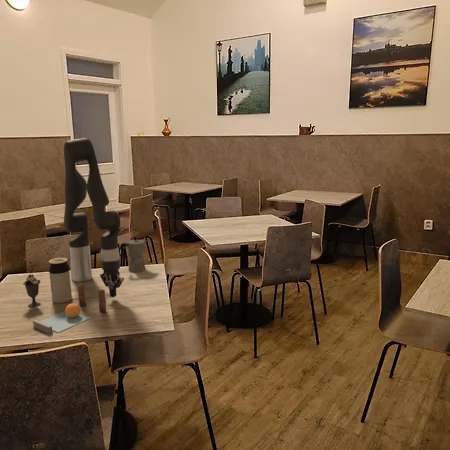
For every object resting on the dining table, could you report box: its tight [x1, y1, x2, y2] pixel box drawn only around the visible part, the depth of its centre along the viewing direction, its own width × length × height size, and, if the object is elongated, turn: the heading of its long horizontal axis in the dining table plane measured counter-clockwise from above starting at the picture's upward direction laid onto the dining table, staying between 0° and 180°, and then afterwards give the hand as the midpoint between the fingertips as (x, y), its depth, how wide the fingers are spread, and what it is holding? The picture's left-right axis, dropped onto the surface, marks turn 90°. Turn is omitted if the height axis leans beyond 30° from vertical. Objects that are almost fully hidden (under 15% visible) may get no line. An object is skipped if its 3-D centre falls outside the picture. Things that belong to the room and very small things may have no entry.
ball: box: [65, 302, 81, 318], centre depth 164 cm, size 6×6×6 cm
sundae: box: [22, 269, 42, 308], centre depth 176 cm, size 7×7×15 cm
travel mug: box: [48, 257, 73, 304], centre depth 181 cm, size 8×8×18 cm
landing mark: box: [39, 311, 91, 334], centre depth 161 cm, size 14×14×1 cm
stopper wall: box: [32, 319, 53, 335], centre depth 154 cm, size 10×1×2 cm, turn 56°
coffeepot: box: [119, 236, 148, 273], centre depth 219 cm, size 15×9×18 cm, turn 129°
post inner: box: [77, 283, 87, 308], centre depth 175 cm, size 3×3×9 cm
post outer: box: [97, 289, 107, 314], centre depth 168 cm, size 3×3×9 cm
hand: (113, 296), depth 181 cm, fingers closed
